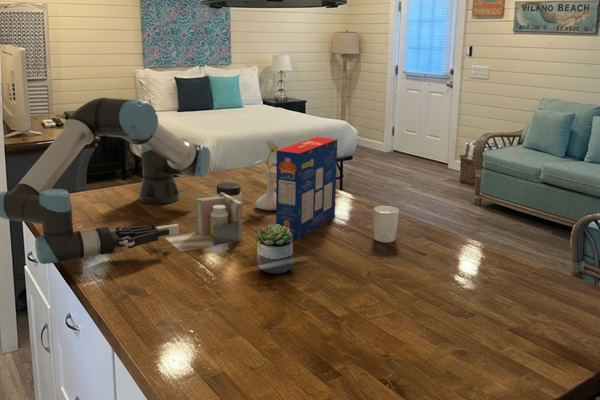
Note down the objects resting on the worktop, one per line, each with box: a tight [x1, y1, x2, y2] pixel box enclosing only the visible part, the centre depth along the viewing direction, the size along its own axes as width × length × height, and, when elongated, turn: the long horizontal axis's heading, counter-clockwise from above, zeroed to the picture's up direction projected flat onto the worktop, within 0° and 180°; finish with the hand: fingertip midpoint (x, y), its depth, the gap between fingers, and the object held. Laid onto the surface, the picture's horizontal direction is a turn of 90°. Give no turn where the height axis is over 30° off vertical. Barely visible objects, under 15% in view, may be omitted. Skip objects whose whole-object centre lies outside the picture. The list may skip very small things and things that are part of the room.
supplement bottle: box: [210, 205, 229, 239], centre depth 188 cm, size 6×6×10 cm
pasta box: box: [275, 136, 338, 241], centre depth 203 cm, size 28×8×28 cm, turn 152°
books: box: [195, 195, 226, 237], centre depth 193 cm, size 5×8×12 cm, turn 121°
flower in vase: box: [254, 139, 279, 211], centre depth 222 cm, size 13×11×25 cm
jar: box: [215, 182, 243, 204], centre depth 211 cm, size 9×8×12 cm
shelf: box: [164, 192, 244, 253], centre depth 187 cm, size 14×20×13 cm
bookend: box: [213, 222, 240, 246], centre depth 185 cm, size 1×8×6 cm, turn 121°
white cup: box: [373, 205, 400, 243], centre depth 194 cm, size 8×8×10 cm
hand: (178, 228), depth 181 cm, fingers closed
